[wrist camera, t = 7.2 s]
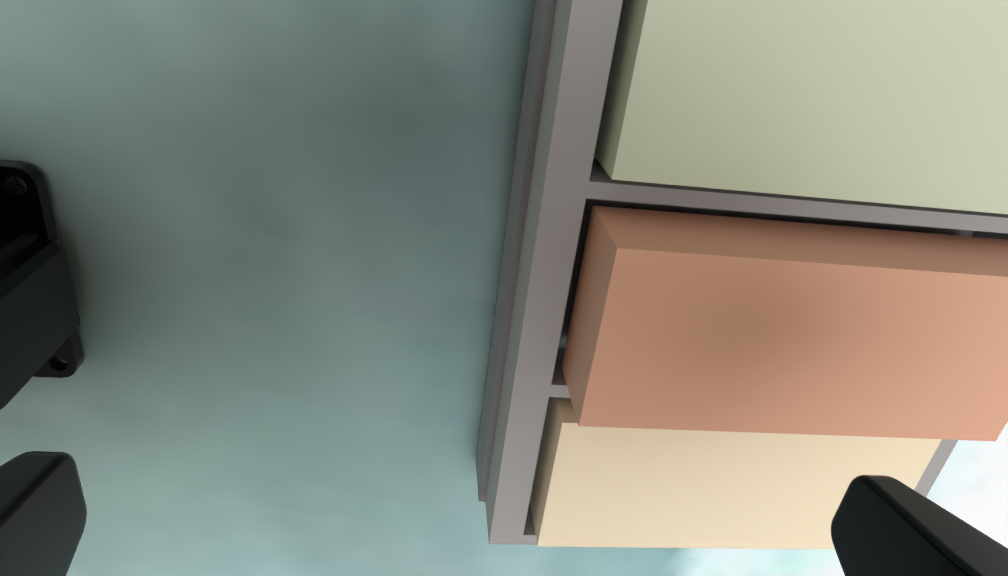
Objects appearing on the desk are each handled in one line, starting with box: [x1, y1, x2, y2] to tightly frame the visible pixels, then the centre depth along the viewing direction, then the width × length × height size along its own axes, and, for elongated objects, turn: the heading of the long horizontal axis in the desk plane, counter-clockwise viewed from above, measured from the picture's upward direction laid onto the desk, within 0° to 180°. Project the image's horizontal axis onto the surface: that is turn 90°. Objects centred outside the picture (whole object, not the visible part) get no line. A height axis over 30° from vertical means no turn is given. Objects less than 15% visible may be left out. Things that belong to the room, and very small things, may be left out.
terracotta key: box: [562, 206, 1008, 441], centre depth 16 cm, size 11×5×2 cm, turn 83°
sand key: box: [530, 397, 942, 549], centre depth 20 cm, size 11×5×2 cm, turn 83°
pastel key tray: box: [476, 0, 1008, 545], centre depth 17 cm, size 14×23×4 cm, turn 173°
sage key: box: [594, 0, 1008, 214], centre depth 15 cm, size 11×5×2 cm, turn 83°
